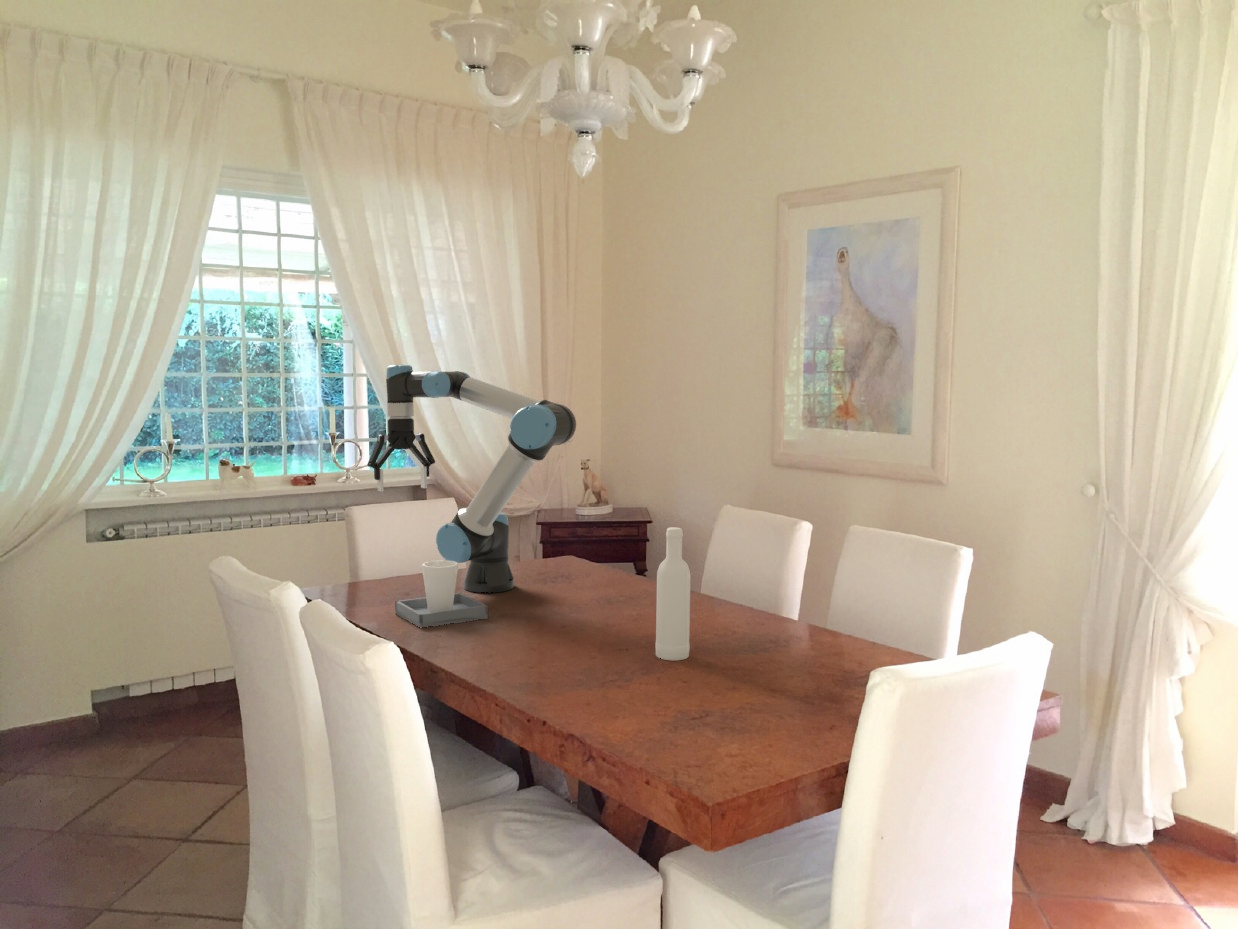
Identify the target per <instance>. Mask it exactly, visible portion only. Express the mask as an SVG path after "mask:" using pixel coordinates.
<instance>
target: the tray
mask: <svg viewBox="0 0 1238 929" xmlns="http://www.w3.org/2000/svg"><path fill="white" fill-rule="evenodd" d="M394 602H395V606H394V607H395V609H394V610H395V615H396V616H398V617H400V618H401V617H402V619H403V620H405V619H406V620H405V621H407V620H408V621H409V622H408V621H407V622H408V623H410V624H412V623H413V624H415V625H416V626H415V625H414V626H415V627H417V626H419V627H427V626H433V627H438V626H439V625H440V626H447V625H451V624H450V623H454V624H460V623H467V622H473V620H474V621H479V620H478V619H481V620H486V619H489V617H488V616H489V615H488V614H489V612H488V611H489V610H488V609H489V608H488V607H489V606H488V604H486V603H483V602H480V601H479V600H477V599H474V598H473V597H470V596H468V595H466V594H463V593H462V592H456V593H455V594H454V602H453V609H452V610H446V611H439V612H432V613H428V606H427V599H426V596H425V597H424V596H423V597H418V598H410V599H403V600H396V601H394ZM466 621H467V622H466ZM413 624H412V625H413ZM444 624H445V625H444ZM446 624H447V625H446ZM427 628H428V627H427Z"/></svg>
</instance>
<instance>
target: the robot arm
mask: <svg viewBox="0 0 1238 929" xmlns="http://www.w3.org/2000/svg"><path fill="white" fill-rule="evenodd" d="M385 381H386V382H385V384H386V397H387V401H386V402H387V403H386V404H387V405H386V407H387V408H386V409H387V410H386V411H387V417H388V419H387V435H384V434H377V438H376V439H377V440H376V443H375V446H374V449H373V451H372V453H371V456H370V458H369V460H368V462H367V467H370V468H372V469H373V470H374V471H373V477H374V480H375V481H377V492H384V491H385V490H384V486H385V485H384V468H382V466H383V465H384V463H386V461H387V460H388V458H389V457H390V455H391V454H392V453H393V452H394V451H395V450H398V451H399V450H410V452H411V453H412V454H413V455H414V456H415V457H416V459H417V460H418V461H419V462H420V464H422V465H421V466H420V467H419V468H420V488H421V489H428V479H427V478H428V477H430V467H431V465H433V464H436V460H435V458H434V456H433V454H432V452H431V450H430V448H429V446H428V444H427V442H426V438H425V434H424V433H417V434H415V421H414V420H415V419H414V418H413V417H414V415H415V414H414V398H431V399H435V398H436V399H437V398H449V397H450V398H453V399H456V400H459V401H462V402H465V403H468V404H470V405H473V406H476V407H479V408H481V409H484V410H486V411H489V412H492V413H494V414H497V415H501V416H503V417H506V418H508V419H511V422H510V426H509V428H510V432H509V434H508V436H507V441H508V445H507V447H506V448H505V450H504V451H503V453H502V455H501V456H500V457H499V459H498V460H497V462H496V464H495V465H494V467H493V469H492V470H491V471H490V472H489V474H488V476H487V477H486V479H485V480H484V481H483V483H482V484H481V485H480V488H479V489H478V491H477V492H476V494H475V495H474V497H473V498H472V500H471V502H470V503H469V504H468V506H467V507H461V508H460V509H459V510H458V511H457V512H456V514H455V516H454V517H453V518H452V520H451V521H450V522H447V523H445V524H444V525H442V526H441V527H439V529H438V531H437V532H436V536H435V543H436V546H437V547H436V548H437V551H438V553H439V555H440V556H441V557H442V558H443V559H444V560H447V561H455V562H457V563H458V564H462V563H466V562H468V561H469V564H468V567H467V569H466V572H465V576H464V579H463V589H464V590H466V591H468V592H473V593H481V592H485V593H486V592H488V593H490V594H491V592H493V593H501V592H507V591H511V590H513V589H514V588H515V579H514V575H513V573H512V569H511V565H510V563H509V537H510V536H509V535H510V534H509V529H510V528H509V527H510V524H509V517H508V515H507V514H506V513H504V512H503V513H502V511H503V509H504V508H505V506H506V505H507V503H509V501H510V499H511V498H512V496H513V495H514V493H515V492H516V490H517V489H518V487H519V486H520V485H521V482H523V480H524V478H525V477H526V475H527V474H528V472H529V471H530V470H531V468H532V467H533V465H534V464H535V462H542V461H543V460H544V459H545V458H546V456H547V454H548V453H549V452H550V450H551V449H552V447H554V446H560V445H563V444H565V443H568V442H569V441H570V440H571V439H572V438H573V437H574V435H575V432H576V430H577V420H576V416H575V414H574V412H573V411H572V410H571V408H569V407H568V406H566V405H564V404H561V403H558V402H557V403H556V402H552V401H549V400H546V399H542V400H536V399H533V398H530V397H529V396H528V397H527V396H525V395H522V394H519V393H517V392H514V391H511V390H508V389H506V388H502V387H500V386H498V385H494V384H491V383H489V382H485V381H482V380H480V379H477V378H474V377H471V376H470V374H468V373H466V372H464V371H458V370H455V371H439V370H431V371H428V370H427V371H414V370H413V366H412V365H408V364H407V365H406V364H405V365H404V364H400V365H397V364H396V365H391V364H390V365H388V366H387V368H386V378H385ZM415 440H416V442H418V445H419V447H420V448H421V451H422V452H423V453H422V452H421V451H420V450H419V449H418V448H417V446H416V444H415V443H414V442H415ZM387 441H388V443H389V444H388V445H387V446H386V448H385V449H384V451H383V452H382V449H383V447H384V445H385V443H386V442H387ZM381 452H382V453H381ZM380 454H381V455H380ZM485 593H484V594H485ZM488 593H487V594H488Z"/></svg>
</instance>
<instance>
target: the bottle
mask: <svg viewBox="0 0 1238 929" xmlns="http://www.w3.org/2000/svg"><path fill="white" fill-rule="evenodd" d="M683 536H684V533H683V528H681V527H676V526H675V527H674V526H673V527H672V526H671V527H667V528H666V532H665V537H666V541H665V542H666V546H665V547H666V551H665V552H666V554H665V558H664V559H663V560H662V562H660V563H659V565H658V569H657V570H656V606H655V608H656V611H655V613H656V616H655V618H656V621H655V645H654V646H655V647H654V648H655V657H657V658H658V659H660V658H661V659H660V660H664V661H672V662H673V661H675V662H676V661H684V660H686V659H688V658H689V657H690V649H691V646H690V645H691V644H690V624H691V623H690V621H691V620H690V619H691V613H690V612H691V571H690V568H689V564H688V563H687V562H686V561H685V560H684V559H683Z"/></svg>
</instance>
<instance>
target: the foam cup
mask: <svg viewBox="0 0 1238 929" xmlns="http://www.w3.org/2000/svg"><path fill="white" fill-rule="evenodd" d="M421 565H422V566H421V574H422V578H423V584H424V591H425V592H424V593H425V597H426V599H427V606H428V613H432V612H439V611H446V610H452V609H453V602H454V594H455V592H456V584H457V576H458V573H459V563H457V562H455V561H447V560H445V559H444V560H442V559H441V560H439V559H438V560H430V561H425V562H423V563H422V564H421Z"/></svg>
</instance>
